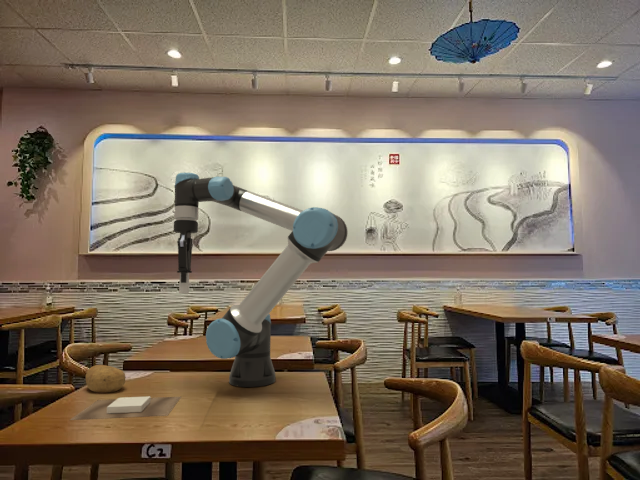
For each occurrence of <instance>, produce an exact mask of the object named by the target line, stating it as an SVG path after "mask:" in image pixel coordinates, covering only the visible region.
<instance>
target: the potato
mask: <svg viewBox="0 0 640 480" xmlns="http://www.w3.org/2000/svg"><path fill="white" fill-rule="evenodd" d="M125 383H126V373H125V372H124V370H121V369H120V368H118V367H115V366H109V365H106V364H105V365H104V364H96V365H93V366H91V367H90V368H89V369H88V370H87V371H86V374H85V384H86V386H87V389H88V390H90V391H91V392H94V393H101V394H102V393H107V394H108V393H115V392H117V391H119V390H121V389H122V388H123V386H124V385H125Z"/></svg>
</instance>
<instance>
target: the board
mask: <svg viewBox="0 0 640 480" xmlns="http://www.w3.org/2000/svg"><path fill="white" fill-rule="evenodd" d="M181 398H182V396H165V397H164V396H163V397H151V398H150V403H149V404H148V405H147V406H146V407H145V408H144V409H143V411H142V412H129V413H107V407H108V406H109V405H110V404H111V403H113V402H114V401H115V400H116V399H117V398H112V399H110V398H109V399H108V398H107V399H97V400H95V401H94V402H92V403H91V404H90V405H88V406H87V407H86V408H84V409H83V410H82V411H79V412H78V413H77V414H76V415H74V416H73V417H71V418H70V419H69V421H79V420H80V421H81V420H83V421H84V420H100V419H102V420H103V419H105V420H107V419H121V418H122V419H126V418H144V417H145V418H146V417H147V418H148V417H167V416H169V415H170V413H171V412H172V410H173V409H174V407H175V406H176V405H177V403H178V402H179V401H180V399H181Z"/></svg>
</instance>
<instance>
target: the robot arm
mask: <svg viewBox="0 0 640 480" xmlns="http://www.w3.org/2000/svg"><path fill="white" fill-rule="evenodd" d="M205 202H212V203H216V204H219V205H220V204H221V205H223V206H227V207H230V208H232V209H234V210H238V211H240V212H243V213H245V214H248V215H250V216H252V217H256V218H258V219H261V220H263V221H266V222H268V223H271V224H273V225H275V226H279V227H280V228H284V229H285V230H289V231H291V232H290V233H289V235H287V245H286V247H284V249H283V251H282V252H281V253H280V254H279V255H278V257H276V259H274V261H273V262H272V264H271V265H270V267H269V268H268V269H267V270H266V271H265V272H264V274H262V276H261V277H260V278H259V280H258V281H257V282H256V284H255V285H254V286H253V287H252V288H251V290H249V292H248V293H247V295H246V296H245V297H244V299H242V301H241V302H240V303H239V304H232V305H231V306H230V307H229V308H228V310H227V311H226V312H225V314H224V315H223V316H222V317H221V318H216V319H215V320H213V321H211V323H209V325H208V326H207V328H206V330H205V332H206V333H205V340H206V342H205V343H206V346H207V348H208V349H209V352H210V353H211V354H212V355H213V356H215V357H217V358H218V359H220V360H221V359H222V360H227V359H232V358H234V361H233V363H232V366H231V369H230V373H229V377H228V380H229V381H228V383H229V384H230V385H232V386H235V387H241V388H257V387H263V386H269V385H271V384H274V383H275V382H276V371H275V368H274V365H273V361H272V357H271V340H272V339H271V336H272V333H271V330H272V328H271V327H272V321H271V315H270V313H271V312H272V310H273V309H274V308H275V307H276V306H277V305H278V304H279V302H280V301H281V300H282V298H283V297H285V295H286V294H287V292H289V290H290V289H291V288H292V286H293V285H294V284H295V283H296V282H297V281H298V279H299V278H300V277H301V276H302V275H303V273H304V272H305V271H306V270H307V269H308V267H309V266H310V265H311V264H315V263H316V264H317V263H319V262H320V261H321V260H322V259H323V257H325V255H326V254H327V253H328V252H333V251H337V250H339V249H340V248H342V247H343V245H344V244H345V243H346V241H347V239H348V227H347V224H346V222H345V221H344V220H343V219H342V218H341V217H340V216H339V215H336V214H334V213H333V212H331V211H330V210H328V209H326V208H323V207H318V206H317V207H315V206H313V207H308V208H306V209H304V210H303V209H299V208H297V207H295V206H292V205H289V204H285V203H283V202H281V201H278V200H275V199H272V198H270V197H266V196H263V195H260V194H259V193H255V192H253V191H250V190H247V189H246V188H245V189H244V188H242V187H240V186H239V187H238V186H237V185H234V184H233V182H232V180H231V179H230V178H229V177H227V176H218V175H217V176H212V177H204V178H200V176H199V174H197V173H194V172H185V171H183V172H180V173H177V174H176V176H175V182H174V209H173V210H172V214H173V215H174V216H173V219H174V221H173V232H174V233H176V234H179V237H178V238H177V241H176V242H177V255H178V256H177V258H178V260H177V262H178V267H177V268H178V269H177V270H176V273H179V282H178V283H179V290H178V293H179V294H189V293H190V273H191V274H192V272H193V270H191V269H192V255H193V247H194V246H193V245H194V243H193V240H194V239H193V238H192V234H197V233H198V231H199V222H198V220H199V205H200V203H205Z"/></svg>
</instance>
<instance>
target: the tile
mask: <svg viewBox="0 0 640 480" xmlns="http://www.w3.org/2000/svg"><path fill="white" fill-rule="evenodd" d="M150 398H152V397H151V396H150V395H148V396H131V397H130V396H129V397H128V396H125V397H123V396H122V397H118V398H115V399H116V400H115V401H114V402H113V403H111V404H110V405H109V406H108V407H107V413H129V412H142V411H143V409H144V408H145V407H146V406H147V405H148V404H149V403H150Z"/></svg>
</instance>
